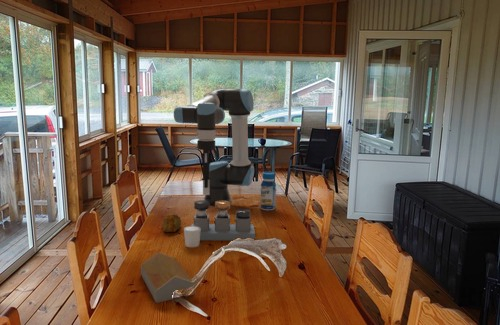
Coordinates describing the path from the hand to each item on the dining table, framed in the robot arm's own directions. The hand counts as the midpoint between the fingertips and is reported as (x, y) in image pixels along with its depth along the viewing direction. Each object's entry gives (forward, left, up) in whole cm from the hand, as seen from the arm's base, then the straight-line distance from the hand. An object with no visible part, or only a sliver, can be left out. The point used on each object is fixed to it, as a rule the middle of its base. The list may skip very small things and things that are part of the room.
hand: (206, 194), depth 167 cm
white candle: (+11, -5, -19) cm, 22 cm away
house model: (+45, -10, -19) cm, 50 cm away
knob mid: (0, +7, -11) cm, 13 cm away
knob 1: (0, -2, -11) cm, 11 cm away
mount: (0, +7, -18) cm, 20 cm away
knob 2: (0, +16, -15) cm, 22 cm away
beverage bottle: (-42, +31, -19) cm, 55 cm away
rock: (-8, -16, -19) cm, 26 cm away
